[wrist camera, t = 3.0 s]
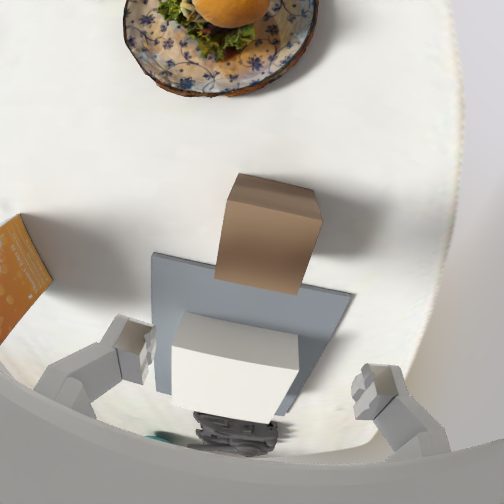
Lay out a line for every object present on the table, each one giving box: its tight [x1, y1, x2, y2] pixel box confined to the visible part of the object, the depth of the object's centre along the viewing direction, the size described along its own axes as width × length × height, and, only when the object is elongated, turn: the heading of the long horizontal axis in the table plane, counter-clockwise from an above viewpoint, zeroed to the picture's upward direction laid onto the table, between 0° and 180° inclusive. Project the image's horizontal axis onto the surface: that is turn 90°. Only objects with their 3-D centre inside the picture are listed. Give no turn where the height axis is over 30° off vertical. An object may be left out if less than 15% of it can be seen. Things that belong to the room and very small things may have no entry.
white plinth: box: [171, 312, 299, 424], centre depth 26 cm, size 10×10×4 cm
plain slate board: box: [151, 253, 351, 416], centre depth 28 cm, size 20×16×1 cm
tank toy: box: [188, 411, 278, 457], centre depth 35 cm, size 12×10×5 cm
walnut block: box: [214, 174, 323, 296], centre depth 19 cm, size 5×5×5 cm
